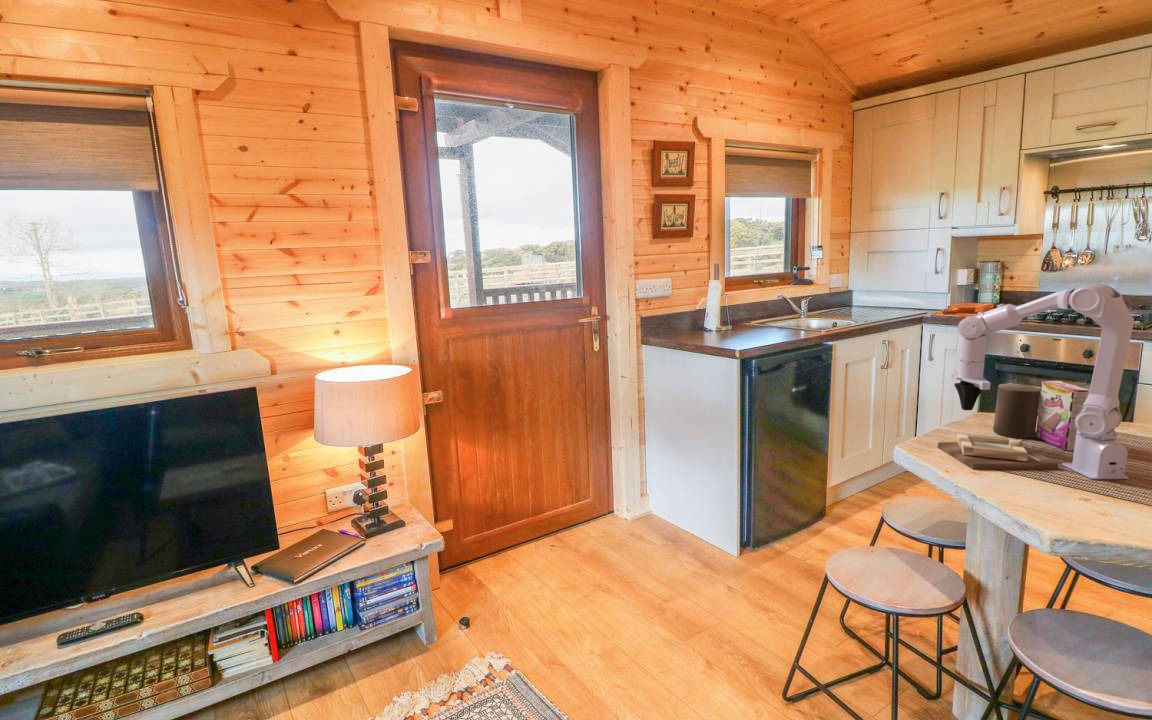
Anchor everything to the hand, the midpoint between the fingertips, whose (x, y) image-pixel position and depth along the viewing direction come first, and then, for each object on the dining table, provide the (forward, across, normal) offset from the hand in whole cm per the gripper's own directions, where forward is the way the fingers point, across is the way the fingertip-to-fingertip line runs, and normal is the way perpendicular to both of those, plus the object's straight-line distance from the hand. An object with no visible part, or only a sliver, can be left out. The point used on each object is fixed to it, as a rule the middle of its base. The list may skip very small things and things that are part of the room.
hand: (967, 409), depth 159 cm
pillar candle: (+10, -8, +18) cm, 22 cm away
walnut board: (+9, +12, +1) cm, 15 cm away
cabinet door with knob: (+8, +11, 0) cm, 14 cm away
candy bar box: (+10, +2, +23) cm, 25 cm away
